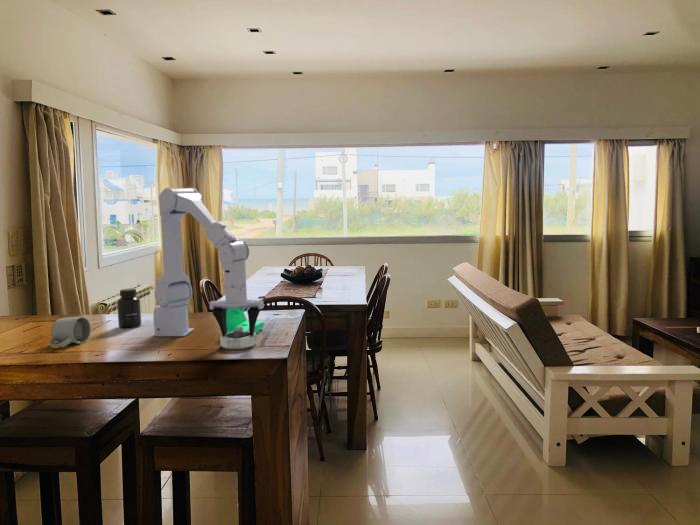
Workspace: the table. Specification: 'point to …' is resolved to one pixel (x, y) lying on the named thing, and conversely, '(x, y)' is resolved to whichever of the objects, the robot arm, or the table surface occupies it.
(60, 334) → the ceramic mug
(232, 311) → the camera mount
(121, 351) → the table surface
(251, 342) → the white ring bowl
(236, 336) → the cap
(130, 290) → the supplement bottle
